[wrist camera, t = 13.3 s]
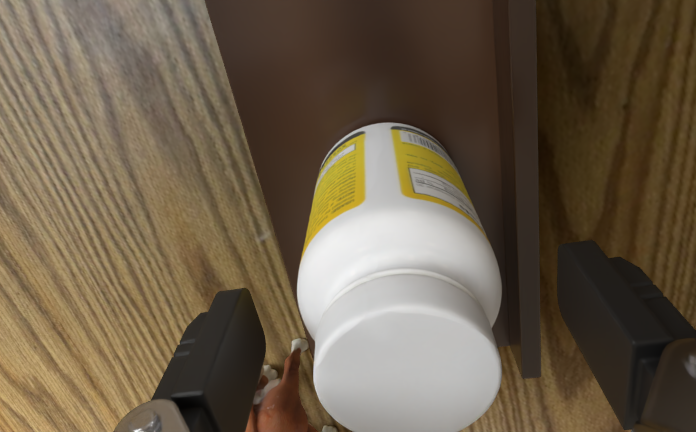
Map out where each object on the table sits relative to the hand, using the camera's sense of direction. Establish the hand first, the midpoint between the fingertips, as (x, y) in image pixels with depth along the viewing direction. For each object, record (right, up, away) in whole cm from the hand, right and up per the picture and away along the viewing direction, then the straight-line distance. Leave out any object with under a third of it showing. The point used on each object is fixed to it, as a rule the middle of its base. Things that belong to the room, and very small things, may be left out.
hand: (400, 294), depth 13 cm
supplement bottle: (0, +3, +6) cm, 7 cm away
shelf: (0, +5, +10) cm, 11 cm away
